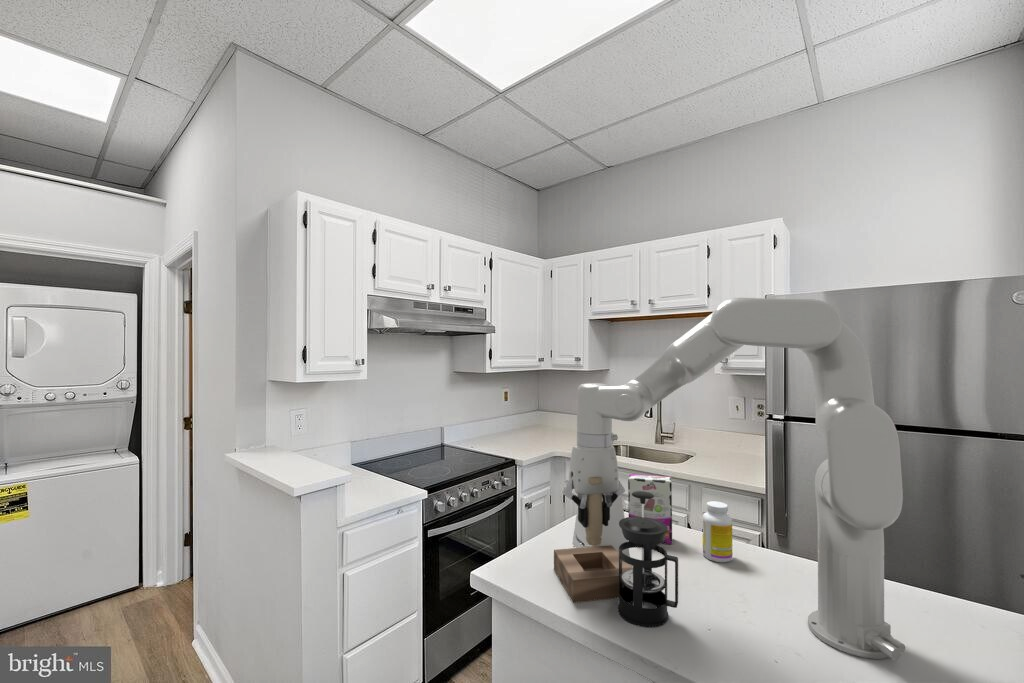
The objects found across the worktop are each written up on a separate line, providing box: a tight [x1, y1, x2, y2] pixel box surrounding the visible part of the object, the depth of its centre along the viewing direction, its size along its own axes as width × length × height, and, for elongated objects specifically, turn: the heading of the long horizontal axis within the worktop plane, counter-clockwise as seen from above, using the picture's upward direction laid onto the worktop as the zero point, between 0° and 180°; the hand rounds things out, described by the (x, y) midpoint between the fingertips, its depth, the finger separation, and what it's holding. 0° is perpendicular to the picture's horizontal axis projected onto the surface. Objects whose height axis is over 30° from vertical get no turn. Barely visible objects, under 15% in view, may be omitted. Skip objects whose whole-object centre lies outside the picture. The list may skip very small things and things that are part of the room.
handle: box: [585, 477, 603, 546], centre depth 101 cm, size 5×6×15 cm
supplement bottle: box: [702, 500, 734, 563], centre depth 113 cm, size 7×7×13 cm
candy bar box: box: [627, 473, 673, 545], centre depth 123 cm, size 11×5×16 cm, turn 73°
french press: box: [617, 491, 679, 628], centre depth 89 cm, size 12×9×23 cm
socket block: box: [553, 545, 633, 604], centre depth 100 cm, size 14×14×4 cm
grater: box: [571, 494, 631, 557], centre depth 116 cm, size 10×10×20 cm
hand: (593, 523), depth 100 cm, fingers closed on handle, 4 cm apart
